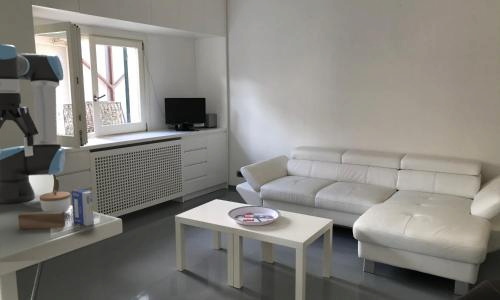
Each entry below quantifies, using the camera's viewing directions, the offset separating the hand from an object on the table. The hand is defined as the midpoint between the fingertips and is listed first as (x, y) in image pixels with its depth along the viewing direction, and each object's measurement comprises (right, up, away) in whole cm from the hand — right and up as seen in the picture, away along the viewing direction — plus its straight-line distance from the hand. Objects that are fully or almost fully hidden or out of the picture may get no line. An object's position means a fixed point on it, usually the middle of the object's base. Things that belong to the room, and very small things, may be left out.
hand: (12, 155), depth 138 cm
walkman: (+22, -25, +7) cm, 33 cm away
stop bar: (+9, -25, +2) cm, 27 cm away
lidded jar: (+7, -23, +18) cm, 30 cm away
